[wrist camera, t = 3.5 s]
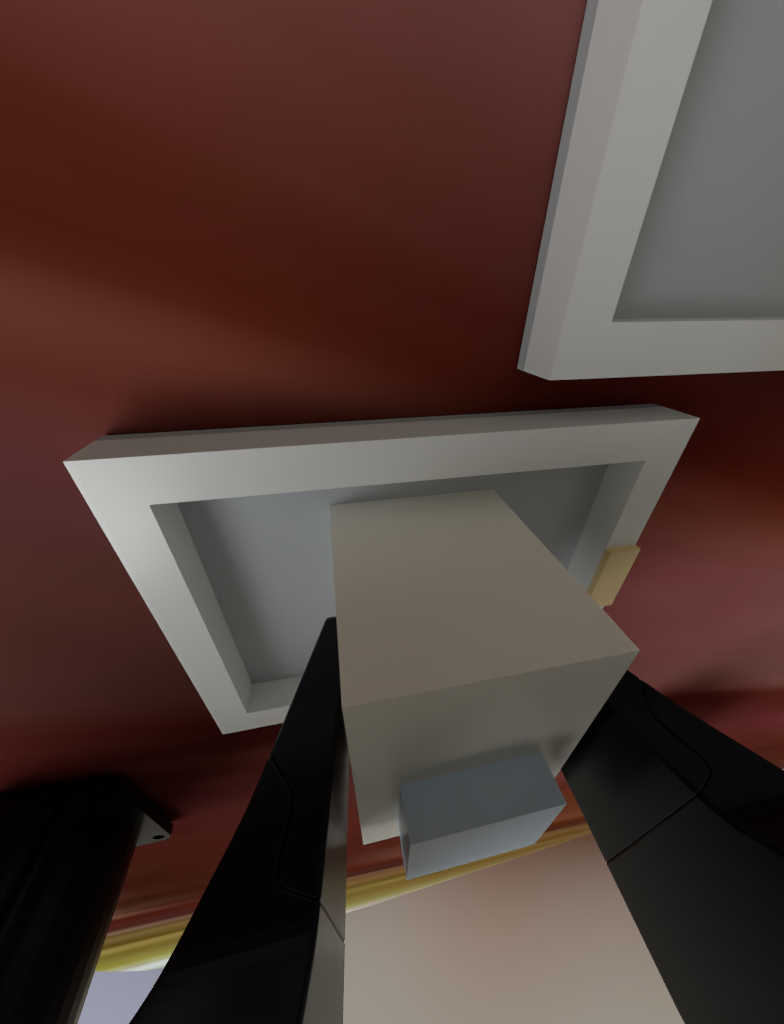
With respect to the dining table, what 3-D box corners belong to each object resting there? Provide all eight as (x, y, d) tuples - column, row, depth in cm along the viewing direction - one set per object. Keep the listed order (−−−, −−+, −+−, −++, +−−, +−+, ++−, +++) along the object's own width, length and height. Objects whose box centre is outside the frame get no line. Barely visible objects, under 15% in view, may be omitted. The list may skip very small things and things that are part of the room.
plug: (465, 630, 12) (560, 842, 8) (346, 650, 12) (368, 897, 7) (492, 488, 9) (689, 704, 4) (329, 504, 8) (346, 783, 4)
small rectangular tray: (554, 638, 14) (576, 670, 13) (231, 696, 12) (221, 741, 11) (654, 403, 9) (708, 420, 8) (102, 435, 7) (55, 466, 6)
